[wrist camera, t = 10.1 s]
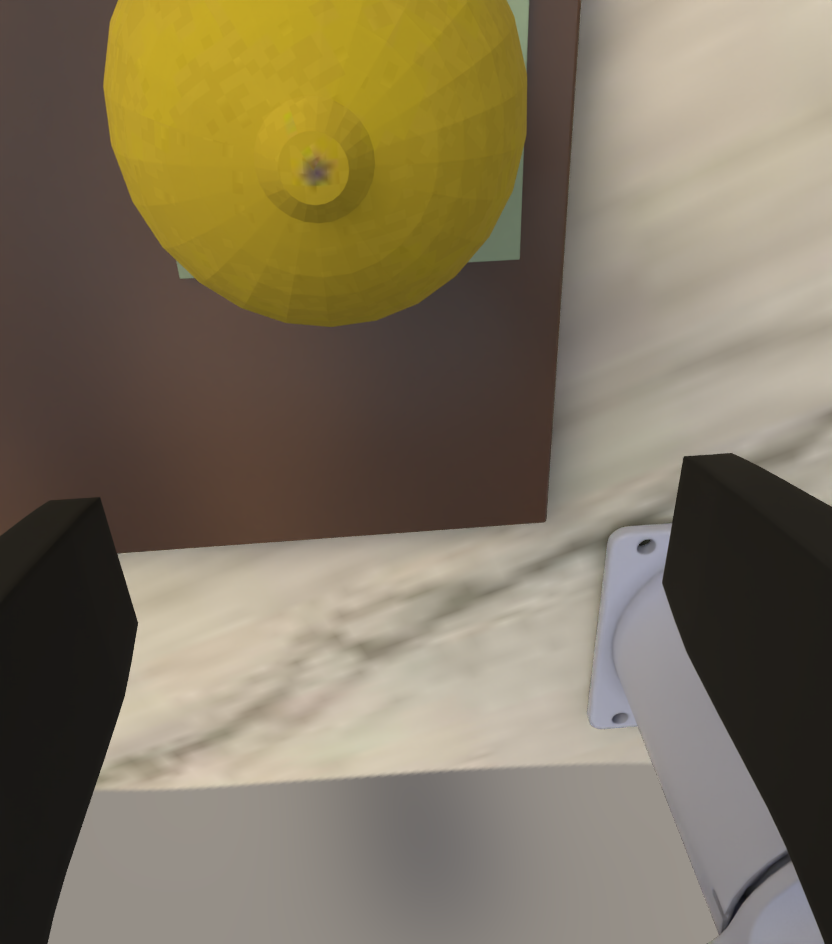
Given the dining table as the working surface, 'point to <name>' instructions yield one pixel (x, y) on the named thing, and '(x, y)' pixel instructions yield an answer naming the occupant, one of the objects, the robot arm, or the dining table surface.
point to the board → (260, 338)
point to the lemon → (318, 144)
